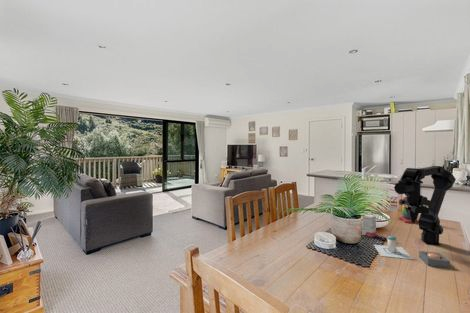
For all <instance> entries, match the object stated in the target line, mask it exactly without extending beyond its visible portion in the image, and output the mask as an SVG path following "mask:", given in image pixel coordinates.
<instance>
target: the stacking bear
mask: <svg viewBox="0 0 470 313" xmlns="http://www.w3.org/2000/svg"><path fill="white" fill-rule="evenodd" d="M403 199H407V196H406V195H405V197H403ZM404 207H406V205H405V204H403V205H402V208H401V214H402V216H399V217H397V219H398V220H399V219H400V220H399V221H402V220H403V221H402V222H404V223H405V224H410V223H412V222H411V220H410V218H409V216H408V214H407V212H406V210H405V208H404ZM419 216H420V213H419V214H418V216H417V218H416V220H415V222H414V223H413V224H418V223H417V222H418V220H419V218H418V217H419Z"/></svg>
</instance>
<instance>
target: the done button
mask: <svg viewBox="0 0 470 313" xmlns="http://www.w3.org/2000/svg"><path fill="white" fill-rule="evenodd" d="M435 253H436V252H435ZM435 253H427V255H428V256H429V257H430V258H438V259H440V255H438V254H435Z"/></svg>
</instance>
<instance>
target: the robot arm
mask: <svg viewBox="0 0 470 313" xmlns="http://www.w3.org/2000/svg"><path fill="white" fill-rule="evenodd" d="M427 176H430V177H431V179H432V180H433V181H432V184H433V186H434V189H433V192H432V195H431V197H430V199H428V197H426V196H424V195H422V194H421V188H422V186H421V184H424V182H423V179H425V177H427ZM397 181H398V182H396V184H395V185H394V187H393V188H394V191H395V193H397V194H398V195H404V196H405V197H406V196H407V199H404V198H403V199H402V198H401V199H399V201H398V204H399V205H400V206H403V205H404V204H405V205H406V207H404V208H405V210H406V212H407V214H408V216H409V218H410V220H411V222H412V223H413V224H415V223H414V222H415V220H416V218H417V216H418V217H419V218H417V220H418V223H417V225H418V228H419V230H421V231H422V232H421V234H420V236H421V239H420V240H421V241H422V242H423V243H424V244H425V245H432V246H433V245H435V246H441V243H440V235H442V234H443V233H444V229H443V227H442V225H441V219H440V217H439V213H440V211H441V207H442V205H443V203H444V199H445V196H446V193H447V191H448V190H450V189H451V188H452V187H453V186H454V184H455V183H456V177H455V176H454V175H453V173H452V172H450V171H448V170H447V169H445V167H444V166H441V165H431V166H426V167H420V168H417V167H407V168H405V170H404V171H403V173H402V175H401V177H400V178H399V180H397ZM418 214H419V215H418Z"/></svg>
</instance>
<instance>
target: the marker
mask: <svg viewBox="0 0 470 313" xmlns="http://www.w3.org/2000/svg"><path fill="white" fill-rule="evenodd" d="M387 246H388V251H389V252H392V253H396V247H397V237H396V236H393V235H387Z"/></svg>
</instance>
